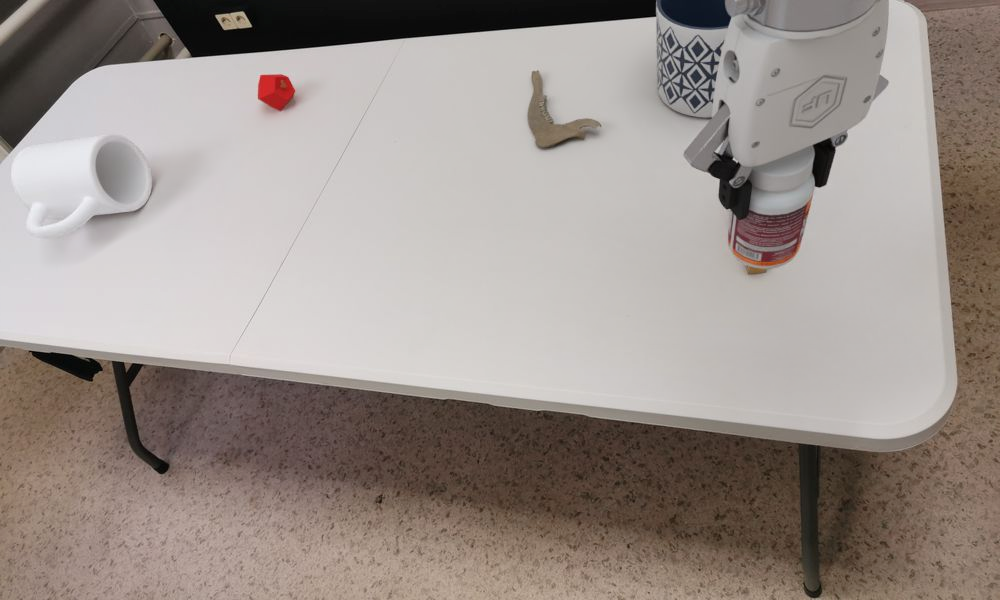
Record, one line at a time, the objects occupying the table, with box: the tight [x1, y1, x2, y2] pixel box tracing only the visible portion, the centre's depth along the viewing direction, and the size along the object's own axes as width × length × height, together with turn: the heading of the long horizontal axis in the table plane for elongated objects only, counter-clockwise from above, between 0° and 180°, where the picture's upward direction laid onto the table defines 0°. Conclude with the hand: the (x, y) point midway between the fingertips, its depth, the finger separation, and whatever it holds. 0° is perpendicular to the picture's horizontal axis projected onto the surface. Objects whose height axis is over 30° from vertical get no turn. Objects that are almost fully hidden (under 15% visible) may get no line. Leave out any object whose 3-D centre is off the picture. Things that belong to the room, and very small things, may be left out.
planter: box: [655, 0, 731, 118], centre depth 87 cm, size 16×16×14 cm
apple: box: [257, 73, 296, 112], centre depth 113 cm, size 7×7×8 cm
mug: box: [10, 133, 153, 240], centre depth 103 cm, size 19×16×13 cm
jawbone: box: [527, 69, 602, 148], centre depth 96 cm, size 9×20×2 cm, turn 28°
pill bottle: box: [727, 145, 816, 270], centre depth 52 cm, size 6×6×11 cm
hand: (772, 190), depth 51 cm, fingers closed on pill bottle, 6 cm apart
